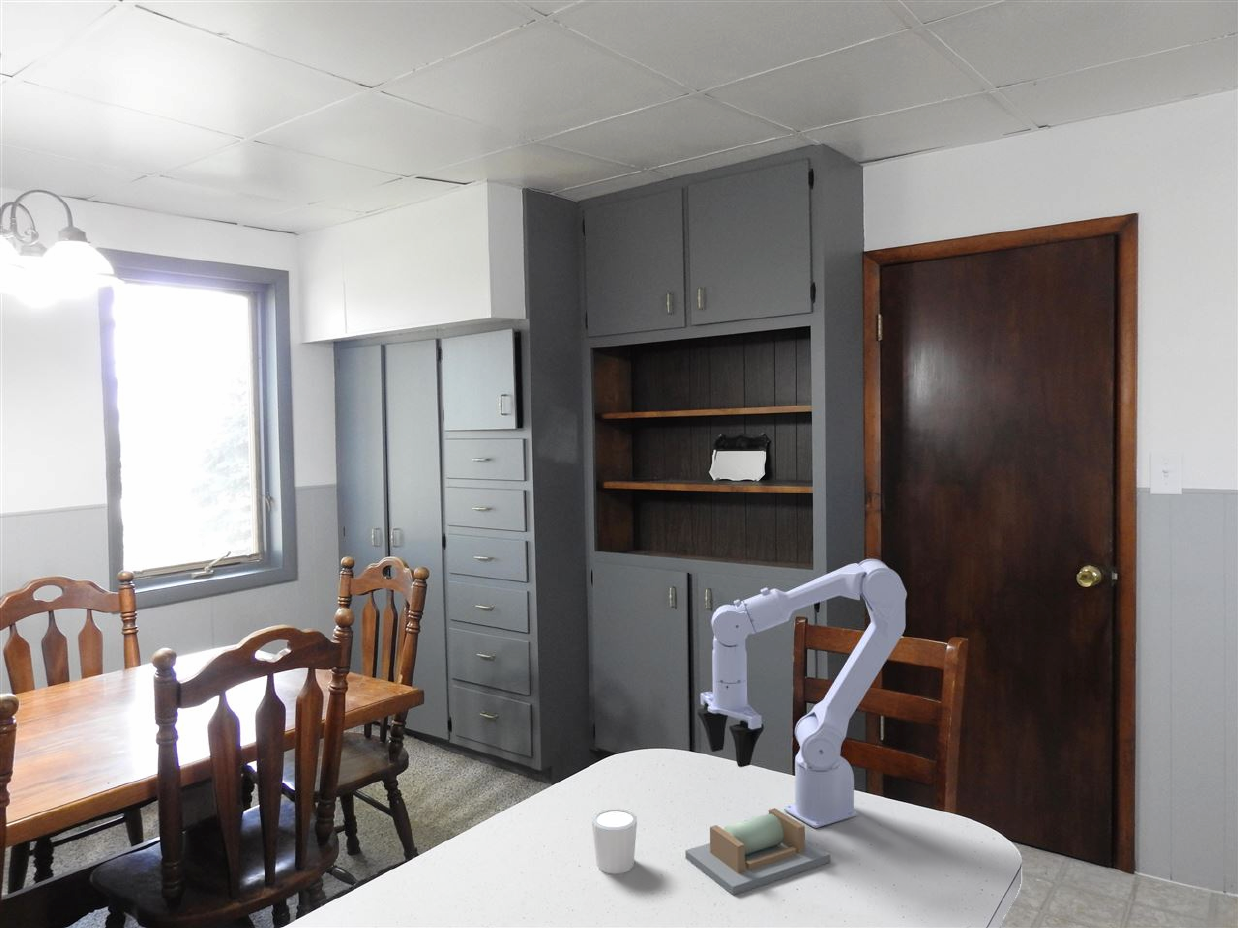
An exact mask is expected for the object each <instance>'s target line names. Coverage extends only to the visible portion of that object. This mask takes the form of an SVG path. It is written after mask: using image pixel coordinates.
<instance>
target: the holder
mask: <svg viewBox="0 0 1238 928" xmlns="http://www.w3.org/2000/svg"><path fill="white" fill-rule="evenodd" d="M768 814H773V815H775V816H776V817H777V818H778V819H779V821H780V823H781V825H782V829H783V841H782V842H781V844H779V845H775V846H772V847H769V848H766V849H763V850H759V851H756V852H753V853H750V854H747V855H745V844H743V843H742V842H740V841H739V840H737V839H736V838H735V837H733V836H732V835H730V834H729V833H727V832H726V831H724V828H722V827H720V826H719V825H717V824H715V825H712V826H710V827H709V843H706V844H702V845H698V846H696V847H691V848H689V849H686V850H685V853H684V855H685V857H684V858H685V859H686V860H688V861H689V863H691V864H693V865H694V866H695V867H696V868H698V869H699V870H700V871H701V872H702V873H704V874H705V875H706V876H708V877H709V878H710V879H712V880H713V881H714V882H715V883H717V884H718V885H719V886H720V887H722V888H723V889H724V890H726V891H727V892H728V893H729V894H730V895H732V896H734V895H737V894H740V893H743V892H746V891H749V890H752V889H754V888H755V889H756V888H757V887H758V888H759V887H761V886H763V885H766V884H769V883H770V884H771V883H773V882H775V881H779V880H781V879H784V878H788V877H790V876H793V875H796V874H799V873H802V872H805V871H808V870H811V869H814V868H817V867H819V866H823V865H825V864H828V863H831V853H829V852H827V851H826V850H824V849H823V848H821V847H819V846H818V845H816V844H815V843H813V842H811V841H810V840H808V839H807V838H805V836H806V835H805V831H806V830H805V827H806V826H805V825H804V824H802V823H801V822H799V821H797V820H795V819H794V818H792V817H790V816H788V815H787V814H786V813H784V812H782V811H781V810H779V809H777V808H775V807H774V808H771V809H768Z"/></svg>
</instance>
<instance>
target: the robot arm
mask: <svg viewBox="0 0 1238 928" xmlns="http://www.w3.org/2000/svg"><path fill="white" fill-rule="evenodd" d="M907 595H908V593H907V590H906V588H905V586H904V583H903V581H902V579H901V577H900V575H899V574H898V573H897V572H896V571H894V570H893V569H891V568H890V567H888V565H886V564H885V562H883V561H881V560H880V559H876V558H867V559H864V560H862V561H860V562H859V563H857V562H855V563H850V564H847V565H845V566H843V567H841V568H838V569H836V570H834V571H832V572H829V573H826V574H824V575H823V576H820V577H818V578H815V579H813V580H811V581H809V582H808V581H807V582H806V583H804V584H801V585H799V586H798V587H795V588H793V589H790V590H789V591H782V590H780V589H778V588H772V589H770V590H769V588H768V587H764V588H762V589H760V594H757V595H754V596H751V597H749V598H747V599H743V600H742V601H741V600H740V599H736V600H734V601H733V604H734V605H732V604H731V605H730V604H724V605H721V606H720V607H718V608H716V610H715V611H714V612H713V614H712V618H711V620H710V625H711V629H712V633H713V639H712V647H713V649H712V652H711V657H712V668H711V669H712V692H711V691H706V692H701V693H700V704H701V705H702V706H704V707H703V708H699V709H698V710H697V715H698V716H699V718H700V721H701V722H702V725H703V727H704V730H705V733H706V737H707V740H708V744H709V748H710V751H711V752H712V753H716V752H719V751H723V750H724V746H725V735H726V726H727V721H728V717H731V718H732V719H734V720H737V721H738V722H739V723H737V724H733V725H729V730H730V733H731V735H732V738H733V742H734V747H735V748H734V749H735V758H736V765H737V767H738V768H745V767H747V766H750V765H751V762H752V758H753V754H754V751H755V748H756V744H757V742H758V739H759V738H760V736H761V734H762V733H763V732H764V729H765V726H764V724H763V723H762V715H760V714H758V713H757V712H756V711H755V710H754V708H752V707H751V705H750V704H749V703H748V676H747V675H748V670H747V669H748V665H747V663H748V661H747V659H748V658H747V657H748V656H747V654H748V653H747V652H748V651H747V650H746V640H747V638H748V636H749V635H756V634H758V633H760V632H763V631H765V630H768V629H771V628H773V627H775V626H776V627H777V626H778V625H782V624H783V623H785V622H788V621H789V620H790V618H791V615H792V614H793V613H794V611H797V610H800V609H803V608H805V607H809V606H812V605H814V604H818V603H820V602H823V601H827V600H830V599H833V598H836V597H844V598H848V599H852V600H856V601H860V600H861V597H862V599H863V601H865V602H864V603H865V606H866V609H867V611H868V615H869V617H870V623H869V625H868V627H867V628H866V630H865V631H864V633H863V634H862V636H861V638H860V640H859V641H858V642H857V644H856V646H854V647H855V648H854V649H853V650H852V652H851V654H850V655H849V657H848V659H847V661H846V662H845V664H844V666H843V667H842V669H841V670H840V672H839V673H838V675H837V677H836V678H835V680H834V682H833V683H832V685H831V686H830V688H829V689H828V691H827V693H826V695H824V696H825V697H824V698H823V699H822V700H821V701H820V702H818V703H816V704H815V705H814V706H813V707H812V709H811V710H810V711H809V713H807V714H805V715H804V716H802V717H801V718H800V719H799V720H798V721H797V723H796V725H795V729H794V735H795V739H796V741H797V743H798V744H799V747H800V748H799V751H798V753H797V754H796V755H795V758H794V759H795V760H794V761H795V762H794V772H795V773H794V776H795V777H794V778H795V780H794V784H795V785H794V787H795V789H794V791H795V792H794V793H795V794H794V797H795V798H794V799H795V802H794V803H793V804H789V805H786V806H784V807H783V809H784V812H787V813H788V814H790V815H792V816H793V817H795V818H797V819H798V820H801V821H802V822H804V823H806V824H807V825H809V826H811V828H815V829H816V828H817V829H818V828H820V827H824V826H827V825H831V824H833V823H837V822H840V821H843V820H847V819H849V818H853V817H856V816H858V813H859V812H858V811H856V810H855V778H854V777H855V775H854V771H853V768H852V765H851V764H850V763H849V761H848V760H847V759H845V758H844V757H843V756H841V749H842V748H841V747H842V744H843V742H844V740H845V739H846V737H847V732H848V728H849V723H850V722H849V721H850V719H851V717H853V714H854V713H855V711H856V709H857V708H858V706H859V704H860V703H861V702H862V700H863V698H864V697H865V695H866V694H867V692H868V690H869V689H870V687H871V686H872V684H873V683H874V681H875V679H876V677H877V676H878V674H879V673H880V671H881V669H882V668H883V666H884V664H885V663H886V662H887V660H888V659H889V657H890V655H891V653H892V652H893V650H894V648H895V647H896V645H897V644H898V642H899V640H900V639H901V638H902V636H903V634H904V631H905V630H906V599H907Z"/></svg>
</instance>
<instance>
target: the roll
mask: <svg viewBox="0 0 1238 928" xmlns="http://www.w3.org/2000/svg"><path fill="white" fill-rule="evenodd" d="M723 830H724V831H726V832H727V833H729V834H730V835H732V836H733V837H735V838H736V839H737V840H739V841H740V842H742V843H743V844H745V855H747V854H750V853H753V852H756V851H759V850H763V849H766V848H769V847H772V846H775V845H779V844H781V842H782V841H783V829H782V825H781V823H780V821H779V819H778V818H777V817H776V816H775V815H773V814H769V813H767V814H764V815H760V816H757V817H753V818H750V819H746V820H744V821H740V822H736V823H733V824H730V825H726V826H725V827H724V828H723Z"/></svg>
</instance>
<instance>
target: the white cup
mask: <svg viewBox="0 0 1238 928" xmlns="http://www.w3.org/2000/svg"><path fill="white" fill-rule="evenodd" d="M591 827H592V834H593V835H592V836H593V845H594V854H595V855H594V856H595V863H596V867H597V869H598V870H600V871H602V872H604V873H608V874H622V873H625V872H628V871H630V870H632V869H633V867H634V865H635V864H634V863H635V852H636V851H635V849H636V838H637V827H638V817H637V816H636V814H635V813H633V812H631V811H629V810H626V809H620V808H619V809H617V808H611V809H610V808H609V809H605V810H601V811H599V812H597V813H595V814H594V815H593V816H592V817H591Z"/></svg>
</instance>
